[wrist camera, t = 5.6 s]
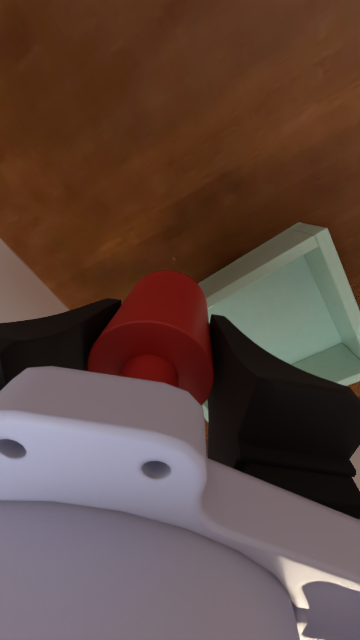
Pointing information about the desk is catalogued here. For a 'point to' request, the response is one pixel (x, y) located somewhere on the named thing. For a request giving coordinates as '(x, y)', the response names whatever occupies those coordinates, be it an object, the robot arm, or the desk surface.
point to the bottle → (160, 336)
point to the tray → (293, 303)
